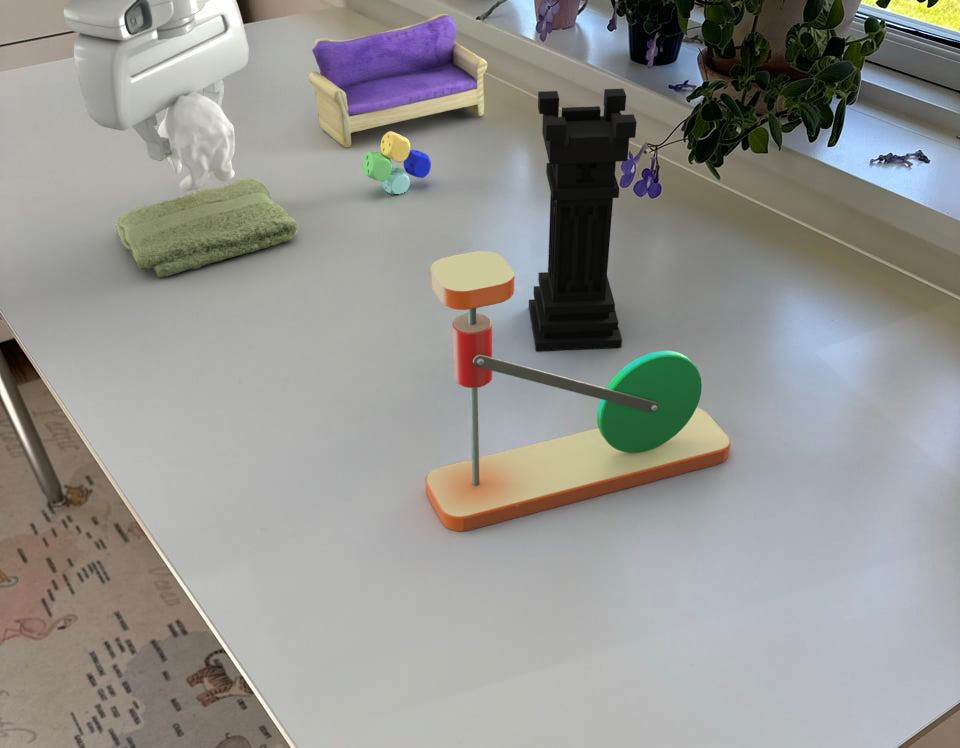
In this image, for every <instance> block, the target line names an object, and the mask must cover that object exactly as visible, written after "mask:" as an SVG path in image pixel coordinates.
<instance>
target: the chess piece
mask: <svg viewBox="0 0 960 748" xmlns="http://www.w3.org/2000/svg"><path fill="white" fill-rule="evenodd" d="M603 91H604V93H603V115H601V111H602V110H601V107H600V106H597V105H596V106H595V105H594V106H571V107H569V106H568V107H567V106H566V107H562V108H561V116H559V111H560V96H559V93H558V90H549V91H548V90H547V91H546V90H544V91H537V108H538V114H539V115H542V127H541V128H542V131H541V133H542V139H543V142H544V146H545V151H546V155H547V159H548V162H546V169H545V172H546V173H545V174H546V177H547V182H548V187H549V191H550V195H549V196H550V201H549V229H548V230H549V231H548V259H547V260H548V261H547V271H545V272H544V271H543V272H542V271H541V272H538V279H537V281H538V285H534V286H533V293H532V294H533V299H532V298H531V299H528V311H529V317H530V323H531V324H530V325H531V329H532V337H533V344H534V349H535V352H547V351H549V352H550V351H571V350H572V351H573V350H596V349H619V348H621V349H622V345H623V344H622V343H623V338H622V335H621V331H620V327H619V322H620V321H619V319H618V314H617V311H616V303H615V300H614V296H613V292H612V288H611V285H610V281H609V278H608V277H609V276H608V267H609V256H610V255H609V254H610V244H611V243H610V242H611V230H612V218H613V217H612V216H613V206H614V205H613V204H614V199H619V197H620V185H619V183H618V180H617V177H616V165H617V162H628V159H629V146H630V139H635V138H636V134H637V123H638V122H637V119H636V117H635V114H633V113H632V114H631V113H630V114H622V112H625V111H626V103H627V94H626V92H625V88H604V90H603Z"/></svg>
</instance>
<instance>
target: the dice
mask: <svg viewBox="0 0 960 748" xmlns="http://www.w3.org/2000/svg"><path fill="white" fill-rule="evenodd" d="M380 151H381V152H379V151H375V150H369V151H368V152H367V153H366V154H365V155H364V157H363V159H362V166H361V167H362V171H363V174H364V175H365V176H366V177H368V178H369V179H372V180H375V181H378V182H381V185H382V187H383V190H384V191H385V192H386V193H387V192H388V193H387V194H389V193H390V194H389V195H393V194H399V195H401V194H400V193H403V194H405V193H406V192H407V191H408V190H409V188H410V185H411V184H410V182H411V181H410V177H409V176H413V177H415V178H418V179H419V178H420V179H424V178H426V177H427V176H428V175H429V173H430V171H431V167H432V162H431V159H430V156H429V155H428V154H426V153H425V152H423V151H420V150H416V149H411V143H410V141H409V139H408V138H406V137H405V136H403V135H402V134H399V133H397V132H394V131H391V130H389V131H388V132H386V133H385V134H384V135H382V138H381V141H380ZM391 160H392V161H394V162H397V163H402V162H403V168H402V167H400V166H399V167H398V166H393V164H392V161H391ZM404 192H405V193H404Z"/></svg>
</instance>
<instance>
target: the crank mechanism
mask: <svg viewBox="0 0 960 748" xmlns="http://www.w3.org/2000/svg"><path fill="white" fill-rule="evenodd" d="M430 284H431V289H432V291H433V293H434V294H435V295H436V297H437V298H438V300H439V301H440V302H441V303H442V304H443V305H444V306H445V307H448V308H450V309H452V310H457V311H467V313H463V314H461V315H459V316H457V317H456V318H455V319H454V320H453V321H452V348H453V349H452V351H453V375H454V376H453V378H454V381H455V382H456V383H457V384H458V385H460V386H462V387H464V388H469V396H470V397H469V401H470V437H471V438H470V439H471V440H470V441H471V459H468V460H464V461H460V462H455V463H452V464H447V465H444V466H439V467H437V468H434V469H432V470H431V471H430V472H428V473H427V475H426V476H425V492H426V496H427V498H428V500H429V502H430V504H431V507H432V508H433V509H434V511H435V513H436V515H437V517H438V518H439V520H440V522H441V524H442V525H443V526H444V527H445V528H447V529H448V530H451V531H454V532H467V531H470V530H475V529H480V528H482V527H486V526H490V525H493V524H497V523H501V522H505V521H508V520H512V519H517V518H520V517H524V516H527V515H528V516H529V515H531V514H535V513H538V512H543V511H546V510H551V509H555V508H557V507H562V506H565V505H569V504H573V503H576V502H577V503H578V502H582V501H584V500H588V499H592V498H596V497H599V496H603V495H606V494H611V493H615V492H618V491H622V490H625V489H626V490H627V489H629V488H633V487H637V486H642V485H644V484H649V483H652V482H657V481H660V480H664V479H667V478H671V477H674V476H675V477H676V476H678V475H683V474H686V473H690V472H694V471H697V470H701V469H704V468H709V467H713V466H717V465H719V464H722V463H724V462H725V461H727V459H728V458H729V454H730V449H731V439H730V437H729V436H728V435H727V433H725V431H724V430H723V429H722V427H720V426H719V425H718V423H716V422H715V420H714V419H713V418H712V417H711V416H710V415H709V414H708V413H707V412H706V411H705V410H703V409H701V408H699V407H698V404H699V403H700V399H701V396H702V388H703V385H702V377H701V374H700V371H699V369H698V367H697V365H695V363H693V361H692V360H691V359H689V358H688V356H686V355H684V354H682V353H680V352H677V351H672V350H657V351H653V352H649V353H646V354H644V355H642V356H640V357H637V358H636V359H634V360H632V361H631V362H629V363H628V364H626V365H625V366H624V367H623V368H622V369H620V371H618V372H617V373H616V374H615V375H614V377H613V378H612V379H611V380H610V382H608V384H607V386H606V387H603V386H599V385H595V384H591V383H587V382H584V381H580V380H576V379H573V378H569V377H565V376H562V375H558V374H554V373H551V372H547V371H544V370H540V369H536V368H532V367H529V366H525V365H521V364H517V363H515V362H511V361H506V360H503V359H498V358H495V357H493V322H492V320H491V319H490V318H489V317H488V316H487V315H485V314H482V313H477V309H479V308H483V307H487V306H492V305H493V306H494V305H498V304H501V303H503V302H506V301H508V300H510V299H511V298H512V297H513V295H514V294H515V271H514V269H513V267H512V266H511V265H510V263H508V261H507V260H506V259H505V258H504V257H503V256H502V255H500V254H499V253H497V252H494V251H488V250H478V251H477V250H475V251H471V252H466V253H460V254H456V255H450V256H445V257H442V258H439V259H437V260H435V261H434V262H433V263H432V264H431V266H430ZM493 372H495V373H500V374H502V375H503V374H504V375H508V376H512V377H515V378H519V379H522V380H527V381H530V382H534V383H537V384H541V385H546V386H549V387H554V388H556V389H561V390H564V391H568V392H571V393H572V392H573V393H576V394H580V395H583V396H587V397H591V398H596V399H599V403H598V406H597V413H596V423H597V427H596V428H593V429H588V430H585V431H580V432H576V433H572V434H568V435H564V436H561V437H556V438H552V439H547V440H544V441H540V442H536V443H532V444H529V445H528V444H527V445H524V446H520V447H516V448H511V449H508V450H503V451H499V452H496V453H492V454H488V455H484V456H480V438H479V435H480V434H479V432H480V431H479V388H482V387H485V386H486V385H488V384H490V383H491V382H492V380H493Z"/></svg>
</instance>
